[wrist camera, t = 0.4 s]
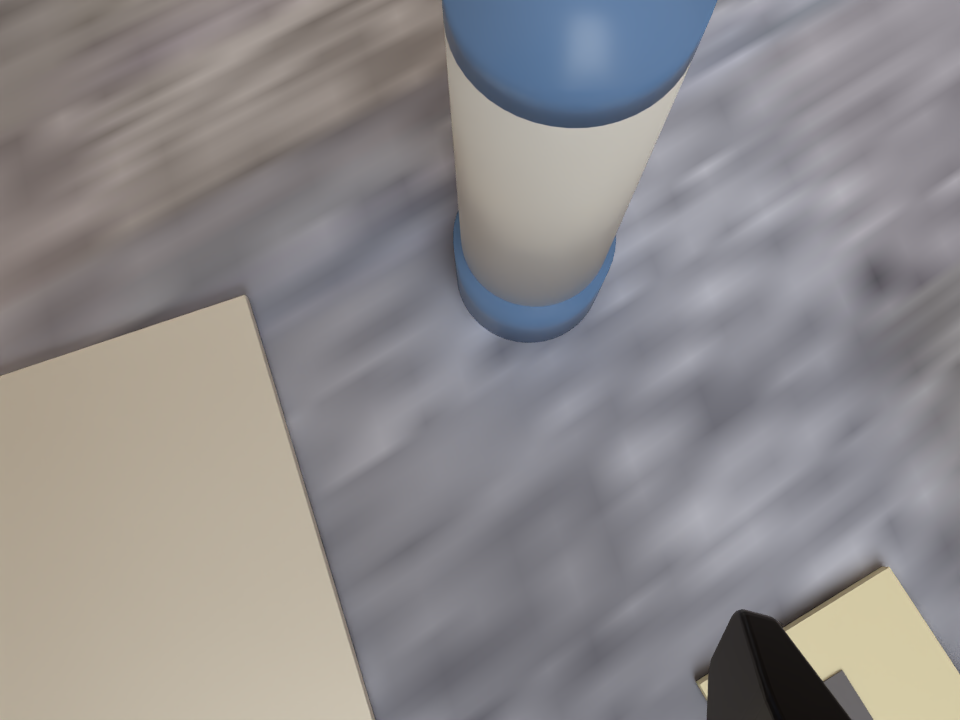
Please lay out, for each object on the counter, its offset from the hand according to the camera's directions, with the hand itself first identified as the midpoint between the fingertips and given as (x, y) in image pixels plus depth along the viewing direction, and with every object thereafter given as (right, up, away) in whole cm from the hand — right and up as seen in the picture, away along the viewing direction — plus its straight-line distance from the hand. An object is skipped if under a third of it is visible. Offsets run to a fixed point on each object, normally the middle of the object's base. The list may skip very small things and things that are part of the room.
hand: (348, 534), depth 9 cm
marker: (+3, +5, +14) cm, 15 cm away
